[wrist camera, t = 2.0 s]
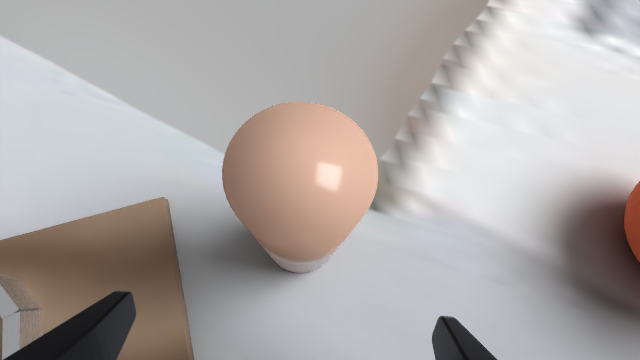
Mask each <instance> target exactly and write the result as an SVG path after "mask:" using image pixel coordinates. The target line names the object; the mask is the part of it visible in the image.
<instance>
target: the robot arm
mask: <svg viewBox="0 0 640 360" xmlns="http://www.w3.org/2000/svg"><path fill="white" fill-rule="evenodd" d="M135 318H136V307H135V303H134V298H133V294H132V293H131V292H130V291H121V290H117V291H114V292H112V293H110V294H109V295H107V296H105V297H104V298H102V299H101V300H99V301H97V302H96V303H94V304H92V305H91V306H89V307H88V308H86V309H84V310H83V311H81V312H79V313H78V314H76V315H75V316H73V317H71V318H70V319H68V320H66V321H65V322H63V323H62V324H60V325H58V326H57V327H55V328H53V329H52V330H50V331H49V332H47V333H45V334H44V335H42V336H40V337H39V338H37V339H36V340H34V341H32V342H31V343H29V344H27V345H26V346H24V347H23V348H21V349H19V350H18V351H16V352H14V353H13V354H11V355H10V356H8V357H6V358H5V359H3V360H117V358H118V356H119V354H120V351H121V349H122V347H123V345H124V343H125V340H126V338H127V336H128V334H129V332H130V330H131V327H132V325H133V323H134V321H135ZM432 344H433V349H434V354H435V359H436V360H497V359H496V358H495V357H494V356H493V355H492V354H491V353H490V352H489V351H488V350H487V349H486V348H485V347H484V346H483V345H482V344H481V343H480V342H479V341H478V340H477V339H476V338H475V337H474V336H473V335H472V334H471V333H470V332H469V331H468V330H467V329H466V328H465V327H464V326H463V325H462V324H461V323H460V322H459V321H458V320H457V319H455V318H454V317H449V316H440V317H439V318H438V320H437V323H436V326H435V329H434V331H433V334H432Z"/></svg>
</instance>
